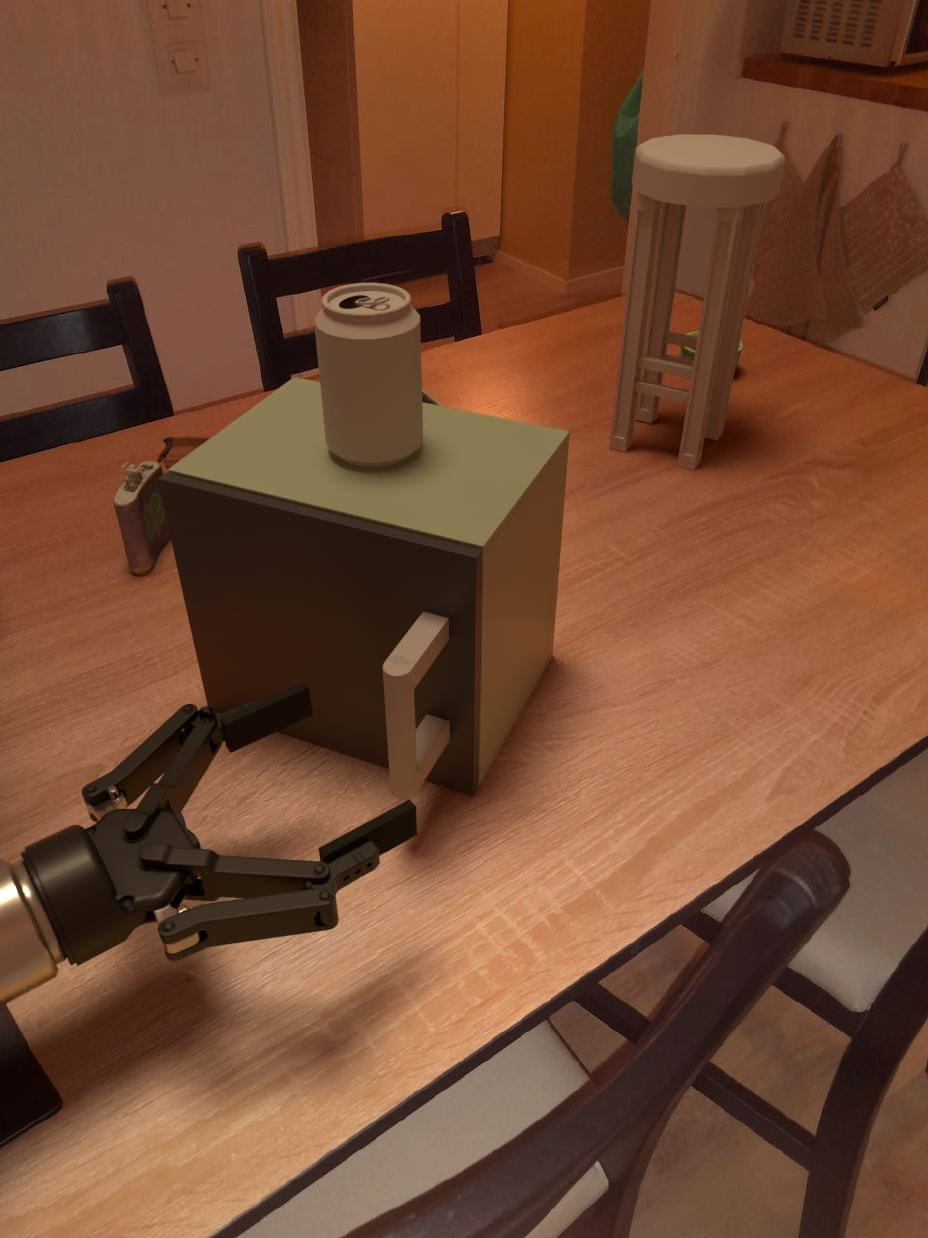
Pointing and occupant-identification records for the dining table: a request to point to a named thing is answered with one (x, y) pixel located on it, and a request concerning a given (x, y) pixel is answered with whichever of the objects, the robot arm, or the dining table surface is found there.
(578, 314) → the dining table surface
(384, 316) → the can
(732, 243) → the stool
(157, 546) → the flask
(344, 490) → the olive green cabinet
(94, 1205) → the dining table surface
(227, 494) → the cabinet door
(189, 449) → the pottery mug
